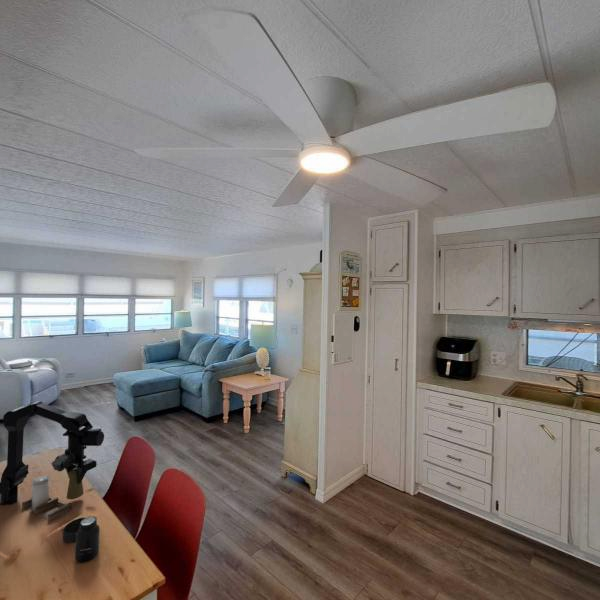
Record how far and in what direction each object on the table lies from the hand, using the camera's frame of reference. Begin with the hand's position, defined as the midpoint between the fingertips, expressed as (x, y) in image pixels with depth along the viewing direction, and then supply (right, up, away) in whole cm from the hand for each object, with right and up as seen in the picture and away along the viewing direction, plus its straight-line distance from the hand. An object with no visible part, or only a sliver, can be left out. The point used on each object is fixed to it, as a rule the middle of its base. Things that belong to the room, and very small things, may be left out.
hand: (75, 481), depth 140 cm
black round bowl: (+13, -10, -18) cm, 25 cm away
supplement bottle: (+23, -10, -28) cm, 38 cm away
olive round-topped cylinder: (0, -6, 0) cm, 6 cm away
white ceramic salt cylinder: (-12, -8, -4) cm, 15 cm away
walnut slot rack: (-8, -9, -5) cm, 13 cm away
